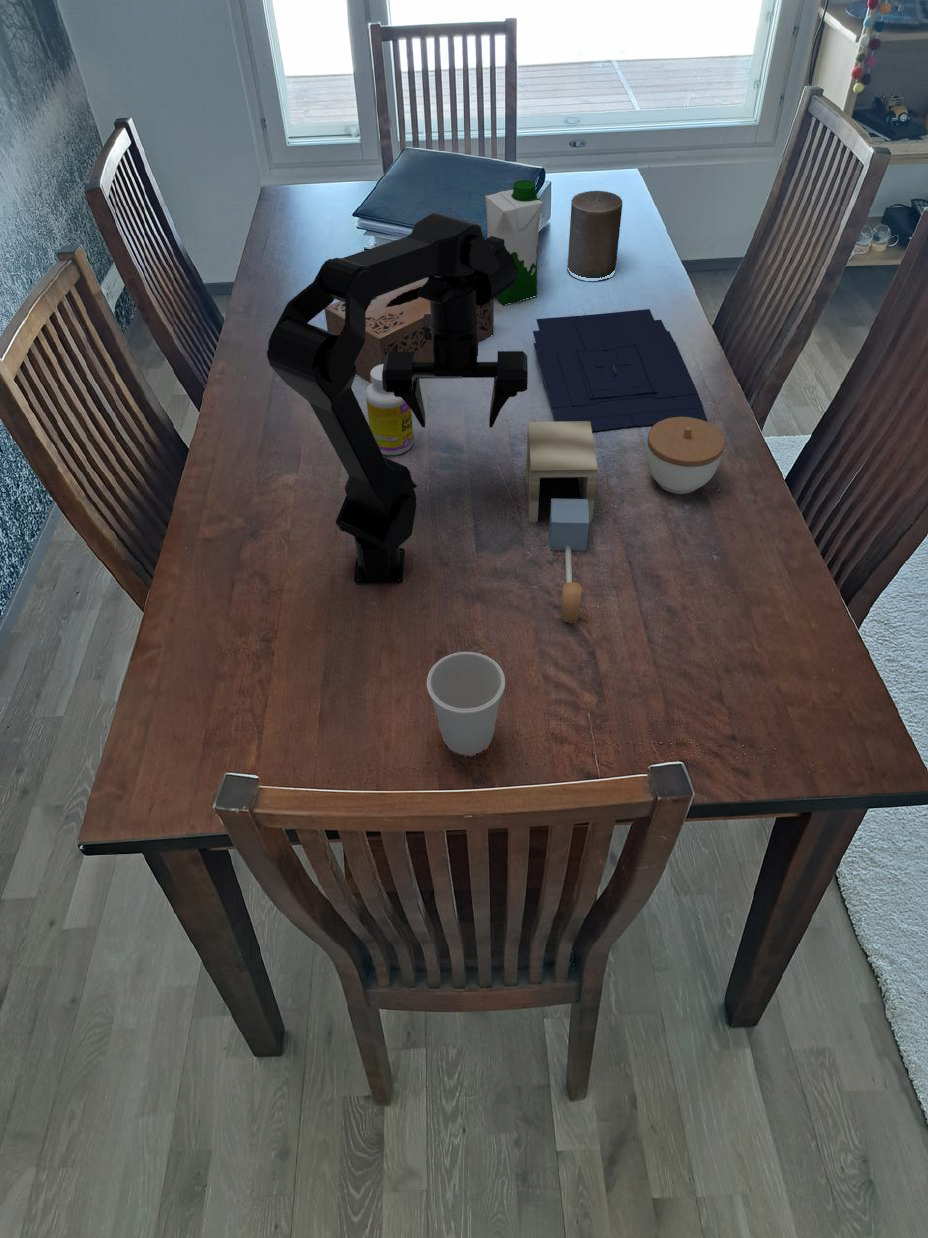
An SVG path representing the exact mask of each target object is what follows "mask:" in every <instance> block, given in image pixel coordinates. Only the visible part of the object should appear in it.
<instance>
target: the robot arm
mask: <svg viewBox="0 0 928 1238" xmlns="http://www.w3.org/2000/svg"><path fill="white" fill-rule="evenodd" d="M517 274H518V268H517V266H516V264H515V261H514V259H513V257H512V256H511V254H510V253H509V252H508V251H507V250H506V249H505V248H504V239H501V238H497V237H494V236H490V237H489V238H488V237H487V238H484V236H483V231H482V226H481V225H480V224H477V223H474V222H469V221H466V220H462V219H459V218H457V217H456V218H455V217H453V216H447V215H445V214H440V213H437V212H434V213H431V214H429V215H427V216H426V217H423V218H422V219H420V220H419V221H417V222H416V223H415V224H414V225H413V227H412V230H411V233H410V234H408V235H407V236H404V237H401V238H399V239H396V240H392V241H390V242H386V243H383V244H381V245H378V246H374V247H372V248H369V249H365V250H363V251H359V252H355V253H354V254H351V255H348V256H344V257H334V258H329V259H326V260H325V261H324V262H323V264H322V265H321V266H320V269H319V270H318V272H317V274H316V276H315V278H314V279H313V281H312V282H311V283H310V284H308V285H307V286H306V287H305V288H304V289H303V290H301V291H300V292H299V293H298V294H296V296H294V297H293V298H292V299H290V300H289V302H287V304H286V305H285V307H284V310H283V311H282V313H281V315H280V316H279V319H278V320H277V323H276V324H275V327H274V328H273V330H272V332H271V334H270V337H269V339H268V345H267V347H268V348H267V350H266V356H267V357H266V358H267V360H268V363H269V366H270V367H271V368H272V369H273V371H274V372H275V373H276V375H278V376H279V377H280V378H281V380H282V381H283V382H284V383H285V384H286V385H288V386H289V387H290V388H291V389H292V390H294V391H295V392H296V393H297V394H299V396H301V397H303V398H304V399H305V400H306V401H307V402H308V404H310V407H311V409H312V411H313V412H314V415H315V416H316V417H317V419H318V421H319V424H320V425H321V427H322V429H323V430H324V432H325V434H326V436H327V438H328V440H329V442H330V443H331V446H332V447H333V449H334V451H335V453H336V455H337V457H338V458H339V460H340V462H341V464H342V466H343V467H344V469H345V472H346V473H347V475H348V478H347V481H346V483H345V485H344V490H345V494H346V495H345V498H344V501H343V502H342V506H341V508H340V510H339V513H338V515H337V518H336V519H335V524H336V526H337V528H338V529H339V531H341V532H343V533H346V534H348V535H351V536H353V537H354V538H353V539H354V544H355V551H356V560H355V567H354V576H353V582H354V583H355V584H358V585H359V584H360V585H361V584H363V585H364V584H367V585H368V584H401V583H402V582H403V581H404V569H405V556H406V550H405V548H403V547H401V545H403V544H404V543H405V542H406V541H407V540H408V539H409V538H410V537H411V536H412V534H413V531H414V529H413V528H414V523H415V517H416V510H417V494H416V490H415V489H416V488H417V487H418V485H417V483H416V482H414V481H413V479H412V478H413V477H412V475H411V471H410V470H409V468H408V467H407V466H406V465H403V464H401V463H399V462H396V461H394V460H391V459H389V458H388V457H385V455H384V454H382V452H381V450H380V448H379V446H378V444H377V442H376V439H375V437H374V435H373V433H372V431H371V429H370V427H369V421H368V420H367V419H366V416H365V414H364V412H363V410H362V408H361V405H360V404H359V401H358V400H357V398H356V395H355V393H354V390H353V388H352V386H353V383H354V381H355V378H356V373H357V371H356V366H355V360H356V358H357V356H358V355H359V353H360V351H361V349H362V347H363V345H364V343H365V318H366V310H367V308H368V306H369V304H370V303H371V301H372V299H373V298H376V297H378V296H381V295H383V294H386V293H388V292H391V291H393V290H396V289H399V288H401V287H404V286H406V285H409V284H411V283H414V282H416V281H419V280H422V279H424V278H427V277H429V278H428V280H427V282H426V283H425V284H424V285H423V286H422V287H421V289H420V291H419V293H418V296H419V297H421V298H424V299H427V300H430V312H431V314H424V339H425V340H432V350H433V362H416V360H415V352H388V353H387V354H386V356H385V359H384V365H383V370H382V383H383V390H384V391H386V392H394V396H395V397H401V398H402V399H403V400H404V401H405V403H406V404H407V405H408V406H409V407H410V409H411V412H412V413H413V414H414V416H415V418H416V420H417V421H418V423H419V425H420V426H421V428H423V429H424V428H426V413H425V412H426V411H425V405H424V401H423V396H422V388H421V385H420V379H421V380H422V379H423V380H427V379H431V380H432V379H436V380H437V379H439V380H440V379H447V380H448V379H449V380H451V379H454V380H455V379H458V380H459V379H464V378H465V379H466V378H467V379H470V378H473V379H474V378H477V379H478V378H479V379H480V378H481V379H482V378H483V379H485V378H486V379H487V378H489V379H491V378H492V379H493V385H492V386H493V387H492V388H493V389H492V392H491V393H492V394H491V400H490V408H489V422H488V423H489V428H493V427H494V425H495V423H496V420H497V418H498V417H499V414H500V412H501V410H502V409H503V407H504V405H506V403H507V401H508V400H509V399H510V398H514V397H517V395H518V393H524V392H526V391H527V390H528V381H529V380H528V379H529V378H528V377H529V376H528V373H529V372H528V371H529V369H528V355H527V354H526V353H525V352H524V351H523V350H516V351H515V350H498V351H497V359H496V360H497V361H478V356H479V343H478V334H477V306H482V305H486V304H487V303H489V302H490V301H491V300H493V299H496V297H497V296H498V295H500V294H501V293H502V292H504V291H505V290H506V289H508V288H509V287H510V286H512V285H513V284H514V282H515V281H516V278H517ZM434 276H436V277H434ZM335 300H337V301H338V302H339V301H342V302H345V325H344V327H343V329H342V331H341V333H340V335H337V334H335V333H332V332H329V331H328V330H327V329H323V328H320V327H318V326H315V325H313V324H309V322H310V321H311V320H313V319H314V318H315V317H317V316H318V315H319V314H320V313H321V312H323V311H325V308H326V307H327V306H330V305H332V304H333V302H334V301H335ZM476 305H477V306H476Z"/></svg>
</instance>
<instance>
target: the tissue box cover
mask: <svg viewBox="0 0 928 1238" xmlns="http://www.w3.org/2000/svg"><path fill="white" fill-rule="evenodd" d="M434 277H436V276H434ZM428 278H429V277H427V278H424V279H422V280H419V281H416V282H414V283H411V284H409V285H406V286H404V287H401V288H399V289H396V290H393V291H391V292H388V293H386V294H383V295H381V296H378V297H376V298H373V299H372V301H371V303H370V304H369V306H368V308H367V310H366V318H365V343H364V345H363V347H362V349H361V351H360V353H359V355H358V356H357V358H356V360H355V366H356V371H357V373H356V375H357V376H358V377H360V378H361V379H363V380H364V381H367V382H368V384H371V383H372V382H371V375H370V373H371V370H372V369H373V368H374V367H375V366H378V365H381V364H384V359H385V356H386V354H387V353H388V352H415V360H416V362H433V350H432V340H425V339H424V314H431V312H430V300H427V299H424V298H421V297H419V296H418V293H419V291H420V289H421V287H422V286H423V285H424V284H425V283H426V282H427V280H428ZM494 299H495V298H494ZM494 299H493V300H491V301H490V302H489V303H487V304H486V305H482V306H477V305H476V306H477V334H478V344H480V343H481V342H483V341H485V340H487V339H489V338H491V337H492V336H491V335H493V336H494V333H495V332H494V324H495V323H494V321H495V320H494V318H495V317H494V312H495V311H494V309H495V308H494ZM324 315H325V320H326V321H325V322H326V331H329V332H332V333H335V334H337V335H340V333H341V331H342V329H343V327H344V325H345V302H342V301H339V300H338V301H337V302H334V303H331V304H330V305H329V306H327V307H326V308H325V309H324ZM490 336H491V337H490ZM488 337H489V338H488ZM486 338H487V339H486ZM479 342H480V343H479Z"/></svg>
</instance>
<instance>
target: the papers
mask: <svg viewBox="0 0 928 1238" xmlns="http://www.w3.org/2000/svg"><path fill="white" fill-rule="evenodd" d="M535 320H536V324H537V327H538V330H533V331H532V334H533V338H534V341H535V342H533V347H534V350H535V355H536V358H537V361H538V365H539V369H540V372H541V375H542V379H543V382H544V386H545V389H546V393H547V396H548V400H549V402H550V403H549V404H550V407H551V411H552V414H553V418H554V422H568V421H590V422H591V429H592V432H597V431H605V430H614V429H620V428H627V427H636V426H637V427H638V426H654V425H655V424H656V423H658V422H660V421H662V420H664V419H668V418H673V417H691V418H696V419H700V420H703V421H706V422H708V421H709V419H708V418H707V416H706V413H705V411H704V405H703V403H702V401H701V398H700V397H701V396H700V395H699V392H698V390H697V388H696V385H695V383H694V381H693V378H692V376H691V375H690V371H689V370H688V367H687V365H686V363H685V361H684V359H683V357H682V354H681V352H680V350H679V348H678V345H677V342H676V341H675V340H674V338H673V336H672V334H671V332H670V331H669V330H667V328H666V326H665V324H664V322H663V320H662V319H655V318H654V316H653V314H652V311H651V309H650V308H647V309H637V310H634V309H633V310H627V311H614V312H605V313H594V314H582V315H571V316H569V315H568V316H559V317H557V316H556V317H544V318H536V319H535Z"/></svg>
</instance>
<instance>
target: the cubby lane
mask: <svg viewBox="0 0 928 1238" xmlns="http://www.w3.org/2000/svg"><path fill="white" fill-rule="evenodd" d="M526 433H527V436H526V437H527V439H526V460H525V461H526V463H525V464H526V465H525V478H526V480H525V481H526V494H527V495H526V496H527V509H528V510H527V511H528V523H538V522H539V521H538V519H539V504H540V503H539V499H540V484H541V483H540V482H541V481H540V479H577V480H578V490H579V497H580V498H579V499H588V510H589V523H592V522H593V517H594V508H595V499H596V498H595V497H596V496H595V495H596V486H597V480H598V478H597V477H598V463H597V456H596V451H595V450H596V449H595V444H594V436H593V431H592V429H591V422H590V421H568V422H556V421H528V422H527V432H526Z"/></svg>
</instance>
